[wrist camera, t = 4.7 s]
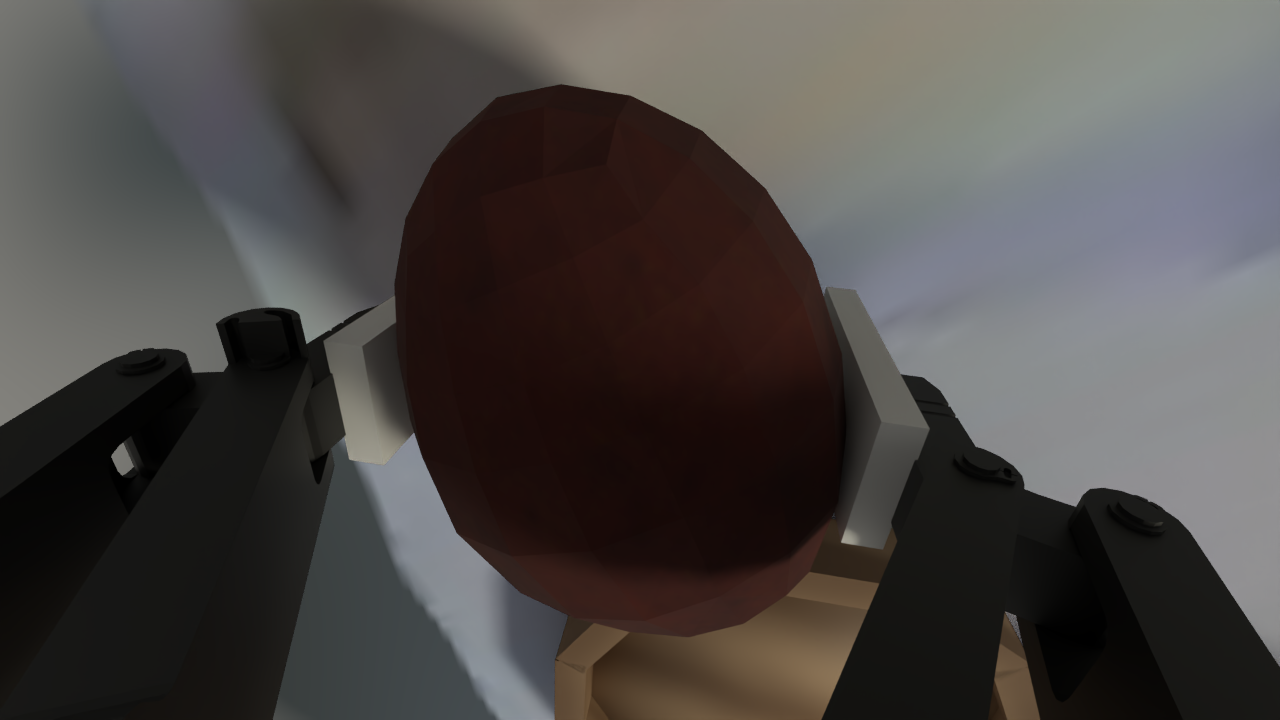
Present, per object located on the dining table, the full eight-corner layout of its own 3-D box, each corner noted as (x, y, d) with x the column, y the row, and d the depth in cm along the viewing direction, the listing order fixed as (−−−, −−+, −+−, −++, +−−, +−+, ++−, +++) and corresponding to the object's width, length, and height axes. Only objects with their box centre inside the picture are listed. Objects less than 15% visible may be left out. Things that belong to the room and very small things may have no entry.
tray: (575, 478, 20) (555, 530, 18) (1100, 560, 18) (1152, 628, 16) (568, 753, 28) (554, 812, 26) (930, 827, 27) (949, 897, 24)
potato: (745, 13, 12) (752, -100, 4) (855, 440, 17) (961, 778, 9) (432, 154, 15) (66, 248, 7) (601, 491, 20) (502, 788, 11)
